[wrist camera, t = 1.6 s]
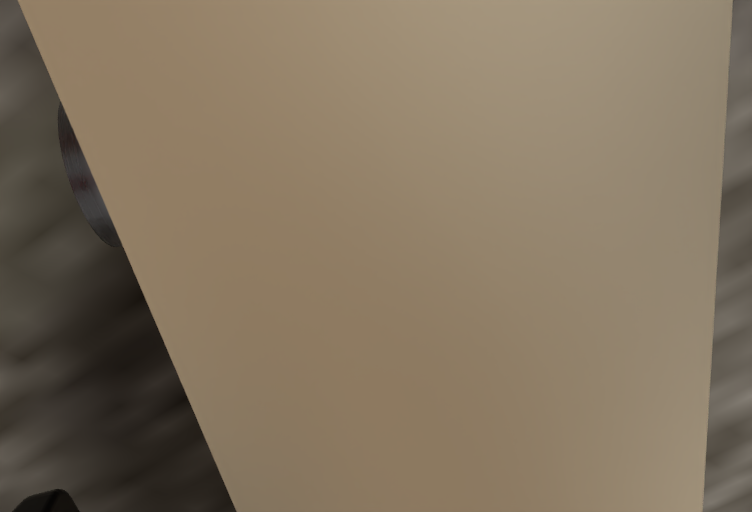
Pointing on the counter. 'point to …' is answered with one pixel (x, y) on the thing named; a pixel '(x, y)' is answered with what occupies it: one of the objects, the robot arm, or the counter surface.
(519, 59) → the door panel
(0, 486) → the counter surface
